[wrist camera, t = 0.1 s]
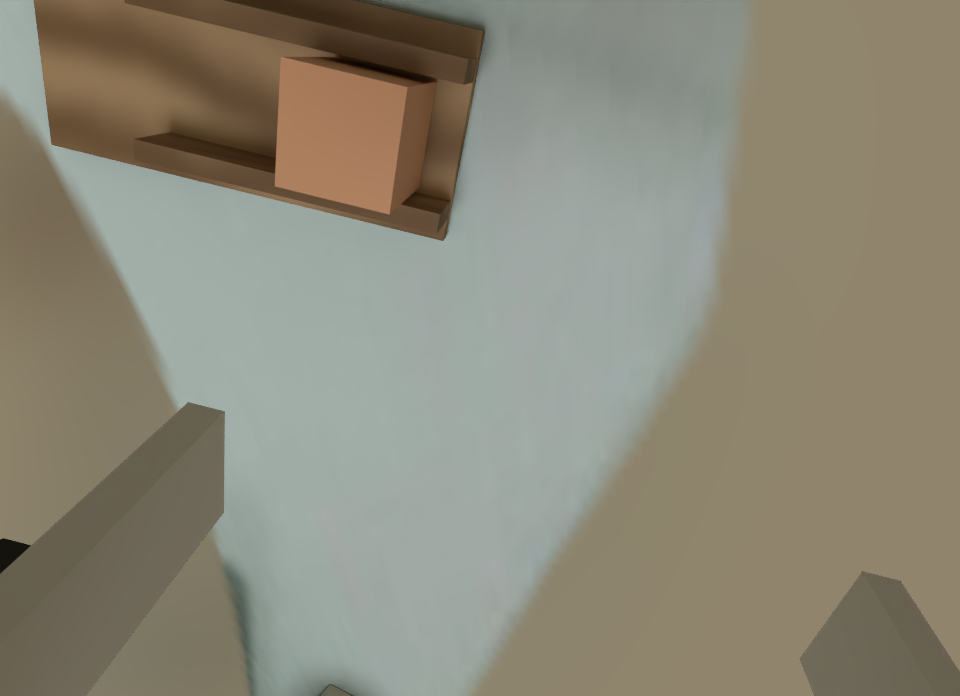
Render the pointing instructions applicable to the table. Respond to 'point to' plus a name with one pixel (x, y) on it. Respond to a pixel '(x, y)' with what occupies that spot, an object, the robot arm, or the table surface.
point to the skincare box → (334, 692)
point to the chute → (242, 87)
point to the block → (351, 131)
